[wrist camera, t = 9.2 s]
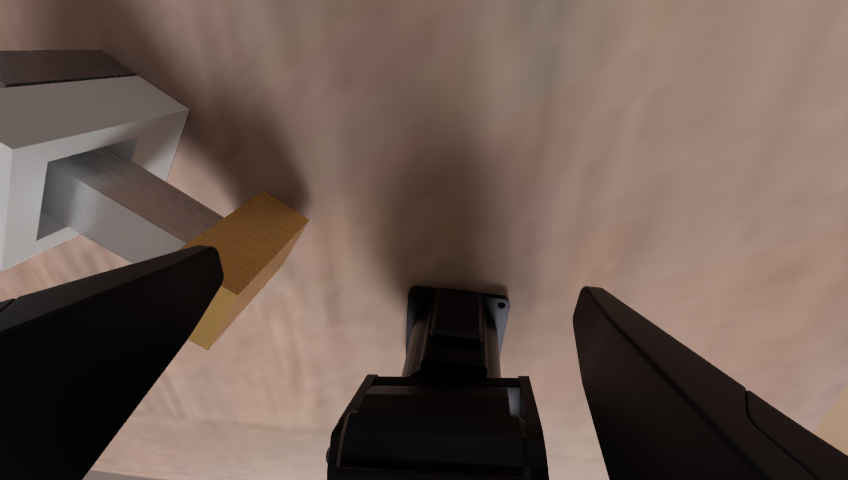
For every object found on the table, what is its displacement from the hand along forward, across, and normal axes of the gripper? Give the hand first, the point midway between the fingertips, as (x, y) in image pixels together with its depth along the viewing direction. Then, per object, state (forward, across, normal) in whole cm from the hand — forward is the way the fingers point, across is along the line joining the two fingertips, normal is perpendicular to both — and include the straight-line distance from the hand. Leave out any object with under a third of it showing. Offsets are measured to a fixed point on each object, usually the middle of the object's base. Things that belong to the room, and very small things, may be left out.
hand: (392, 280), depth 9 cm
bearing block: (+12, +17, +1) cm, 21 cm away
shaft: (+12, +13, +3) cm, 18 cm away
